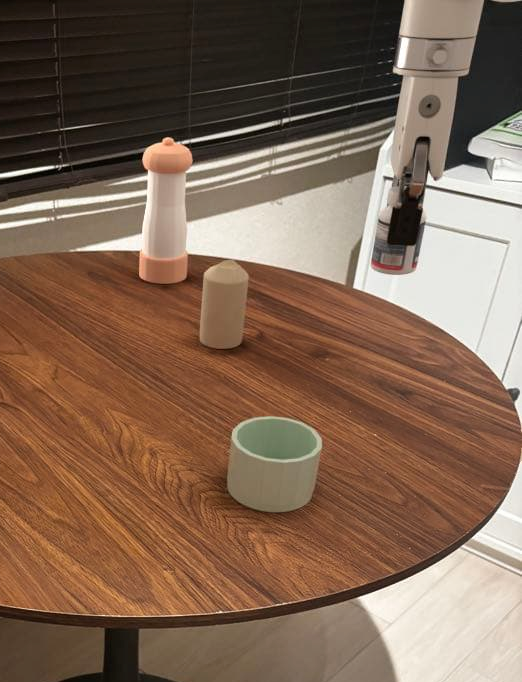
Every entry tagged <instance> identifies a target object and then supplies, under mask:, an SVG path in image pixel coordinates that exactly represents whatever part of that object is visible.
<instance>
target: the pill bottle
mask: <svg viewBox="0 0 522 682" xmlns="http://www.w3.org/2000/svg"><path fill="white" fill-rule="evenodd" d="M391 187H392V186H391ZM391 187H390V188H388V192H387V196H386V204H387V203H388V207H387V206H386V207H384V208H382V209H381V210H380V212H379V215H378V217H377V223H376V228H375V229H376V230H375V235H374V241H373V248H372V254H371V258H370V259H371V260H370V267H371V269H372V270H373V271H375V272H378V273H380V274H384V275H391V276H403V275H409V274H412V273H413V272H415V271H416V270H417V267H418V263H419V259H420V253H421V248H422V243H423V237H424V233H425V229H426V228H425V227H426V223H427V222H426V221H427V214H426V212H425V210H423V212H422V217H421V222H420V227H419V232H418V237H417V242H416V244H415V245H414V246H402V245H389V244H387V236H388V230H389V225H390V219H391V214H392V208H393V207H396V201H397V194H398V187H399V186H396V187H392V188H391ZM406 187H407V186H405V188H404V189H406ZM424 198H425V196H424Z"/></svg>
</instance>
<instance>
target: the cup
mask: <svg viewBox="0 0 522 682" xmlns="http://www.w3.org/2000/svg"><path fill="white" fill-rule="evenodd" d="M230 437H231V438H230V447H229V458H228V466H227V467H228V468H227V475H226V488H227V492H228V493H229V495H230V496H231V497H232V498H233V499H234V500H235V501H236V502H238V503H239V504H241V505H243V506H245V507H247V508H249V509H253V510H256V511H260V512H266V513H287V512H291V511H295V510H298V509H301V508H302V507H305V506H306V505H307V504H308V503H309V502H310V501H311V500H312V498H313V495H314V491H315V487H316V484H317V483H316V482H317V477H318V471H319V466H320V462H321V461H320V460H321V455H322V450H323V438H322V436H321V435H320V434H319V433H318V432H317V430H316V429H314V428H313V427H311V426H310V425H307V424H306V423H304V422H303V421H300V420H299V421H298V420H296V419H292V418H288V417H285V416H284V417H283V416H271V415H269V416H268V415H267V416H257V417H256V416H255V417H252V418H249V419H247V420H243V421H241V422H240V423H238V424H237V425H236V426H235V427H234V428H233V429H232V433H231V436H230Z"/></svg>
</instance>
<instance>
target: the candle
mask: <svg viewBox="0 0 522 682" xmlns="http://www.w3.org/2000/svg"><path fill="white" fill-rule="evenodd" d="M249 278H250V275H249V274H248V272H247V271H246V270H245V269H244V268H243V267H242V266H241V265H240V264H238V262H236V261H235V260H234V259H225V260H222V261H221V262H220V263H217V264H215V265H213V266H211V267H209V268H207V270H206V271H205V272H204V273H203V278H202V279H203V280H202V281H203V282H202V293H201V294H202V295H201V307H200V308H201V309H200V321H199V322H200V323H199V324H200V325H199V341H200V343H201V344H202V345H204V346H206V347H209V348H212V349H220V350H227V349H233V348H236V347H238V346H240V345H241V344H242V341H243V336H244V327H245V317H246V307H247V297H248V289H249V288H248V287H249V280H250V279H249Z"/></svg>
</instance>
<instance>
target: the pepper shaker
mask: <svg viewBox="0 0 522 682" xmlns="http://www.w3.org/2000/svg"><path fill="white" fill-rule="evenodd" d="M190 150H191V149H189V148H188V147H187V146H185V145H184V144H181V143H178V142H175V140H174V139H173V138H172V137H168V136H167V137H165V138H163V139H162V142H157V143H153V144H152V145H150V146H148V147H146V149H145V151H144V152H143V155H142V165H143V167H144V169H145V170H147V189H146V190H147V192H146V205H145V211H144V216H143V221H142V222H143V223H142V229H141V230H142V238H141V239H142V240H141V241H142V245H141V247H142V248H141V249H140V251H139V265H138V266H139V268H138V270H139V271H138V272H139V273H138V277H139V278H140V279H141V280H144V281H145V282H148V283H153V284H161V285H162V284H163V285H165V284H166V285H169V284H176V283H180V282H182V281H184V280H185V279H186V278H187V275H188V261H189V258H188V257H189V254H188V253H189V252H188V250H187V249H186V248H187V236H188V223H187V212H186V185H187V171H189V170H190V169H191V167H192V164H193V162H194V161H193V154H192V152H191V151H190Z"/></svg>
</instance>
